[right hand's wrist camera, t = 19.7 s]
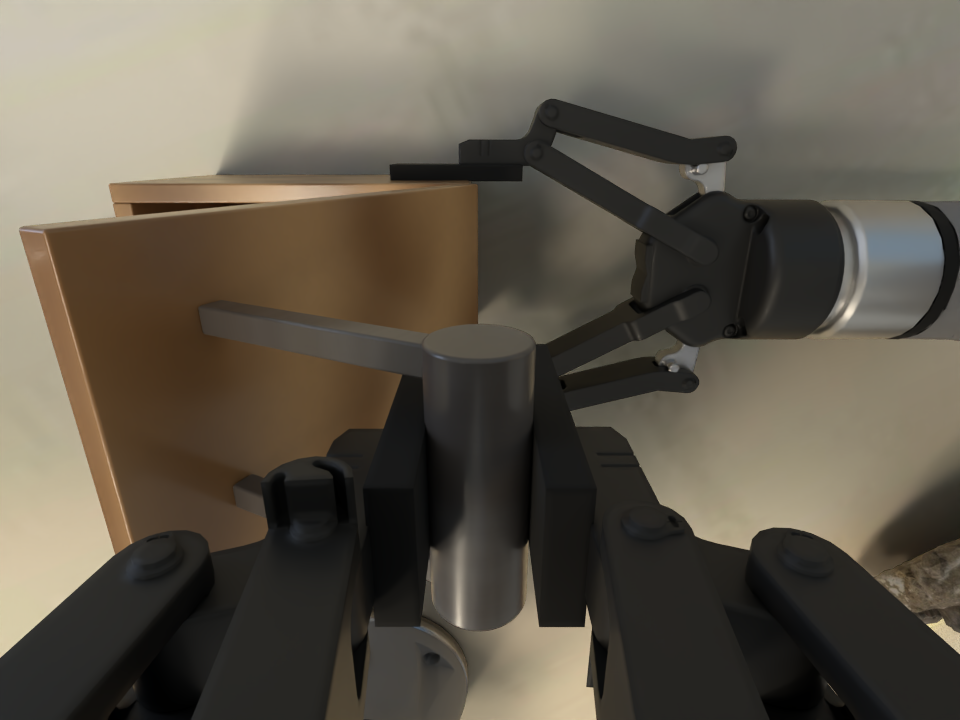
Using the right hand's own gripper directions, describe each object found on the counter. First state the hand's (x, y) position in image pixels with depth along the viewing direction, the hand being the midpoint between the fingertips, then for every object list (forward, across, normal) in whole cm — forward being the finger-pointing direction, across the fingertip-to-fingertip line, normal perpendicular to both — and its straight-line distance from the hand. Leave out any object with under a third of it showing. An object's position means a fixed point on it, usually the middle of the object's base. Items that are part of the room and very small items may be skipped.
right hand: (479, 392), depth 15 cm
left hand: (+16, +4, 0) cm, 17 cm away
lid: (+4, +5, 0) cm, 6 cm away
